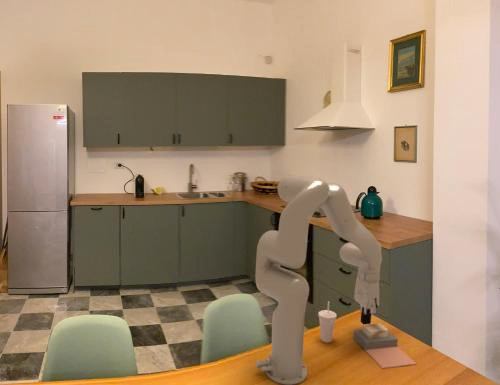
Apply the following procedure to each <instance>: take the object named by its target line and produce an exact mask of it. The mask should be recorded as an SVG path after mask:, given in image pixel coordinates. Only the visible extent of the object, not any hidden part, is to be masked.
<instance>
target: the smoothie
mask: <svg viewBox="0 0 500 385" xmlns="http://www.w3.org/2000/svg"><path fill="white" fill-rule="evenodd" d="M317 316H318V319H319V331H320V340H321V341H322V342H324V343H330V342H332V339H333V335H334V329H335V323H336V319H337V318H338V317H337V313H336V312H335V311H332V310H330V301H327V309H323V310H320V311H318V314H317Z"/></svg>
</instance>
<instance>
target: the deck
mask: <svg viewBox="0 0 500 385" xmlns="http://www.w3.org/2000/svg"><path fill="white" fill-rule="evenodd" d="M352 337H353V338H352V339H353V340H354V341H355V342H356V343H357V344H358V345H359V346H360V347H361V348H362V350H364V351H365V350H369V349H378V348H386V347H395V346H397V347H398V341H399V340H398V338H397V337H396V336H395V335H394V334H392V333H391V332H389V330H388V337H383V338H374V339H369V338H368V337H367V336H366V335H365V334H364V333H363V332H362V329H357V330H356V329H355V330H353V336H352Z"/></svg>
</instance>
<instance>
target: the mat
mask: <svg viewBox="0 0 500 385" xmlns="http://www.w3.org/2000/svg"><path fill="white" fill-rule="evenodd" d="M364 351H365V352H366V353H367V354H368V356H369V357H370V358H371V359H372V360H373V361H374V362H375V363H376V364H377V365H378V366H379V367H380V368H381V369H383V370H385V369H386V370H387V369H394V368H399V367H400V368H401V367H409V366H415V365H417V363H416V362H415V360H413V359H412V358H411V357H410V356H409V355H408V354H407V353H405V352H404V351H403V350H402V349H401V348H400V347H399V346H398V345H397V346H395V347H386V348H378V349H369V350H364Z"/></svg>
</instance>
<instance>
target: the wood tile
mask: <svg viewBox="0 0 500 385" xmlns="http://www.w3.org/2000/svg"><path fill="white" fill-rule="evenodd" d="M361 330H362V332H363V333H364V334H365V335H366V336H367V337H368V338H369V339H374V338H383V337H388V331H389V329H388V328H386V327H385V326H384V325H383V324H381V323H373V324H371V323H370V324H362V329H361Z"/></svg>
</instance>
